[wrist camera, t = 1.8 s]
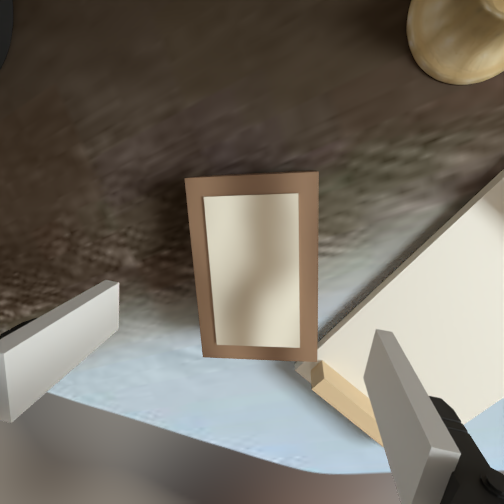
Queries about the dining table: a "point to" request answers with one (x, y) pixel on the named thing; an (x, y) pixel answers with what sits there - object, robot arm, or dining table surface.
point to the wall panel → (430, 320)
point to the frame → (256, 264)
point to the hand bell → (457, 39)
